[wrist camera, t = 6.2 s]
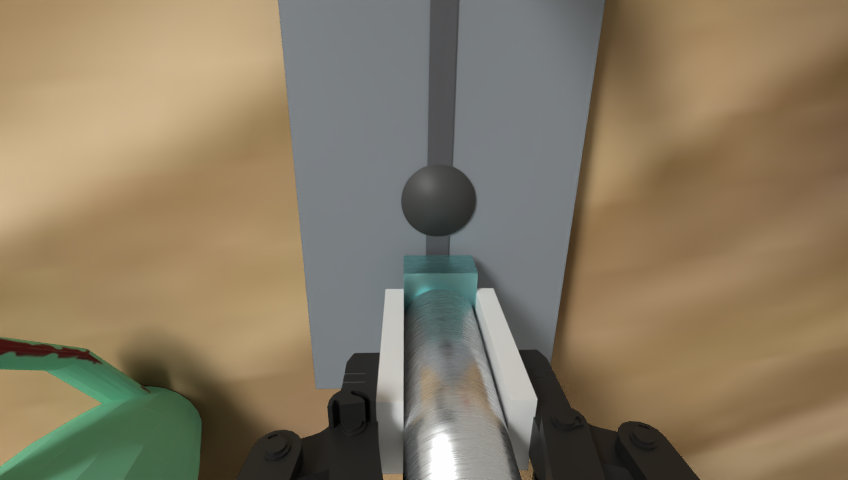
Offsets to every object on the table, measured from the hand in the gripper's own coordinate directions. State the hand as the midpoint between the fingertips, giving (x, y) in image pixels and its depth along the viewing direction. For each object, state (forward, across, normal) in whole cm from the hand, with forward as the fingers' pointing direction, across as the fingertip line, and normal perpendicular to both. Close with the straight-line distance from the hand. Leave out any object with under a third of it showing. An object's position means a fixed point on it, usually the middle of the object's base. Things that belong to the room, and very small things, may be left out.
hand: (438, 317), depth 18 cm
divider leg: (+2, 0, 0) cm, 2 cm away
